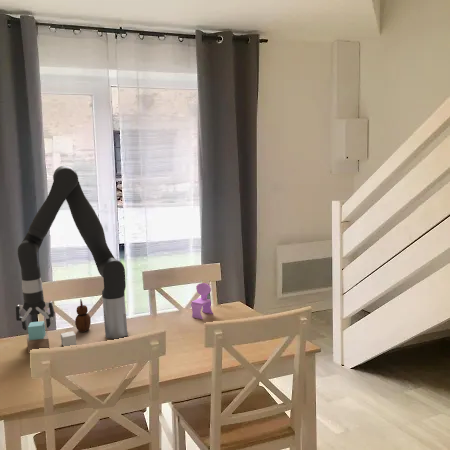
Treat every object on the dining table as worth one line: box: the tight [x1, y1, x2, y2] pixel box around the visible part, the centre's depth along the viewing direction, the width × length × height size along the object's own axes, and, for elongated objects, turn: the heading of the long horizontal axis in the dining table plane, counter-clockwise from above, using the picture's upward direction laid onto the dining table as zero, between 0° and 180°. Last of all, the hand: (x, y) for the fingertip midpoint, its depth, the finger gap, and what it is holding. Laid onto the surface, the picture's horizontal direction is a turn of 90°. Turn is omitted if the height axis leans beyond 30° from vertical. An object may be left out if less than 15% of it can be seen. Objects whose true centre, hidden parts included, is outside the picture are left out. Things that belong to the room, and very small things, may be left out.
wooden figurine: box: [74, 298, 92, 333], centre depth 228 cm, size 7×6×15 cm
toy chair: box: [190, 282, 214, 320], centre depth 242 cm, size 8×9×15 cm
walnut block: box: [26, 331, 50, 354], centre depth 211 cm, size 8×8×5 cm
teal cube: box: [27, 320, 47, 340], centre depth 210 cm, size 6×6×6 cm
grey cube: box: [60, 330, 78, 347], centre depth 213 cm, size 5×5×5 cm
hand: (36, 328), depth 211 cm, fingers open, 8 cm apart
